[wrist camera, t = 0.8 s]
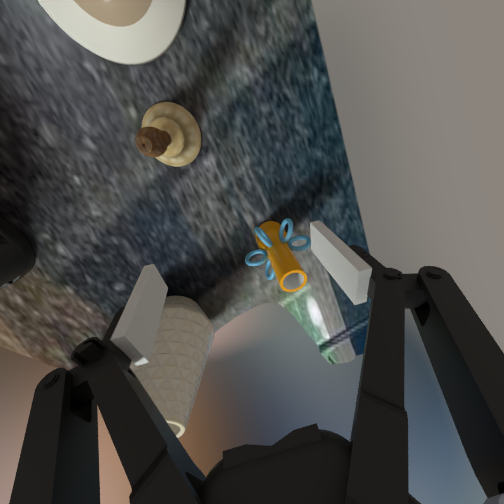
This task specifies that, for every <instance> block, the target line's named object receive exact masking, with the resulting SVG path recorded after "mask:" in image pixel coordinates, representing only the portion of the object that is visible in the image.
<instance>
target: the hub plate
mask: <svg viewBox="0 0 504 504" xmlns="http://www.w3.org/2000/svg"><path fill="white" fill-rule="evenodd" d="M38 2H39V3H40V4H41V6H42V7H43V8H44V9H45V11H46V12H47V13H48V14H49V16H50V17H51V18H52V19H53V20H54V21H55V22H56V23H57V24H58V25H59V26H60V28H61V29H63V30H64V31H65V32H66V33H67V34H68V35H69V36H70V37H71V38H73V39H74V40H75V41H77V42H78V43H79V44H81V45H82V46H83V47H85V48H87V49H88V50H90V51H92V52H93V53H95V54H97V55H98V56H100V57H102V58H104V59H107V60H109V61H112V62H115V63H118V64H123V65H130V66H138V65H144V64H148V63H150V62H153V61H155V60H157V59H158V58H160V57H161V56H163V55H164V54H165V53H166V52H167V51H168V50H169V49H170V47H171V46H172V45H173V43H174V42H175V40H176V38H177V37H178V34H179V32H180V29H181V27H182V23H183V20H184V16H185V10H186V2H187V0H38Z"/></svg>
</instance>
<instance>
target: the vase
mask: <svg viewBox="0 0 504 504" xmlns="http://www.w3.org/2000/svg"><path fill="white" fill-rule="evenodd" d="M213 338H214V329H213V325H212V323H211V322H210V320H209V319H208V317H207V316H206V315H205V313H204V312H203V311H202V309H201V308H200V307H199V305H198V304H197V303H196V302H195V301H194V300H192V299H190V298H188V297H184V296H168V297H166V299H165V303H164V306H163V310H162V314H161V318H160V322H159V326H158V330H157V334H156V338H155V342H154V345H153V349H152V353H151V357H150V361H149V363H145V364H142V365H138V366H136V365H135V364H134V363H133V362H132V361H131V364H130V368H131V369H132V370H133V372H134V373H135V375H136V376H137V378H138V379H139V381H140V382H141V384H142V385H143V387H144V389H145V390H146V392H147V393H148V395H149V396H150V398H151V399H152V401H153V402H154V404H155V405H156V407H157V408H158V410H159V411H160V413H161V414H162V416H163V417H164V419H165V420H166V422H167V423H168V425H169V426H170V428H171V429H172V431H173V432H174V434H175V435H176V437H177V438H178V437H180V436H181V435H182V434H183V433H184V432H185V429H186V426H187V423H188V419H189V416H190V413H191V410H192V406H193V403H194V400H195V397H196V393H197V390H198V387H199V384H200V380H201V377H202V374H203V371H204V367H205V364H206V361H207V358H208V355H209V351H210V348H211V345H212V341H213Z"/></svg>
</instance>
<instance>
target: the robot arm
mask: <svg viewBox="0 0 504 504" xmlns="http://www.w3.org/2000/svg"><path fill="white" fill-rule="evenodd" d="M310 231H311V250H312V251H313V253H314V254H315V255H316V256H317V258H318V259H319V260H320V262H321V263H322V264H323V265H324V267H325V268H326V269H327V270H328V272H329V273H330V274H331V275H332V277H333V278H334V279H335V280H336V282H337V283H338V284H339V286H340V287H341V288H342V289H343V291H344V292H345V293H346V294H347V296H348V297H349V298H350V299H351V301H352V302H353V303H354V305H356V304H360V303H364V302H366V301H367V295H368V296H369V297H370V298H371V299H372V302H371V307H370V315H369V322H368V328H367V335H366V341H365V348H364V355H363V361H362V368H361V375H360V381H359V388H358V395H357V401H356V408H355V414H354V420H353V426H352V432H351V439H350V442H349V441H348V440H347V439H345V438H344V437H342V436H340V435H338V434H336V433H333V432H331V431H327V430H320V429H318V426H317V424H313V425H310V426H306V427H303V428H299V429H296V430H293V431H292V432H291V433H289V434H288V435H286V436H285V437H284V438H282V439H281V440H279V441H278V442H277V443H275V444H274V445H272V446H262V445H248V444H246V445H242V446H239V447H236V448H232V449H229V450H226V451H223V459H222V460H221V461H219V462H218V463H217V464H216V465H215V467H213V469H212V470H211V471H210V472H209V474H208V475H207V477H205V476H204V474H203V473H202V472H201V470H200V469H199V468H198V467H197V466H196V465H195V464H194V462H193V461H192V460H191V458H190V456H189V455H188V453H187V452H186V450H185V449H184V447H183V446H182V445H181V443H180V441H179V440H178V438H177V437H176V435H175V434H174V432H173V431H172V429H171V428H170V426H169V425H168V423H167V422H166V420H165V419H164V417H163V416H162V414H161V413H160V411H159V410H158V408H157V407H156V405H155V404H154V402H153V401H152V399H151V398H150V396H149V395H148V393H147V392H146V390H145V389H144V387H143V385H142V384H141V382H140V381H139V379H138V378H137V376H136V375H135V373H134V372H133V370H132V369H131V368H130V364H131V361H132V362H133V363H134V364H135V365H136V366H138V365H142V364H145V363H149V361H150V357H151V353H152V349H153V345H154V342H155V338H156V334H157V330H158V326H159V322H160V318H161V314H162V310H163V306H164V303H165V299H166V295H167V291H168V287H167V285H166V284H165V282H164V280H163V279H162V277H161V275H160V274H159V272H158V270H157V269H156V267H155V265H154V264H151V265H147V266H144V268H143V270H142V272H141V274H140V276H139V279H138V281H137V283H136V285H135V287H134V289H133V292H132V294H131V296H130V298H129V300H128V302H127V305H126V306H125V307H122V308H120V310H119V311H118V312H117V313H116V314H115V316H114V318H113V320H112V322H111V324H110V326H109V328H108V330H107V332H106V334H105V336H104V338H103V340H102V341H101V340H100V339H98V338H97V337H92V338H89V339H87V340H85V341H83V342H82V343H81V344H79V345H78V346H77V347H76V349H75V350H74V351H73V353H72V355H71V359H72V360H73V361H74V362H76V363H77V364H78V365H79V366H77V367H75V368H73V369H71V370H69V371H67V370H66V369H64V368H57V369H55V370H53V371H52V372H50V373H49V374H47V375H46V376H45V377H44V378H43V379H42V380H41V381H40V382H39V384H38V385H37V387H36V389H35V393H34V398H33V402H32V406H31V410H30V415H29V419H28V424H27V428H26V433H25V437H24V441H23V446H22V450H21V455H20V459H19V463H18V468H17V472H16V477H15V481H14V485H13V490H12V494H11V499H10V503H9V504H100V484H99V483H100V482H99V453H98V452H99V450H98V420H97V419H98V418H97V405H98V407H99V410H100V412H101V414H102V417H103V419H104V422H105V424H106V426H107V429H108V431H109V434H110V436H111V439H112V441H113V443H114V446H115V448H116V451H117V453H118V456H119V458H120V460H121V463H122V465H123V467H124V470H125V473H126V475H127V477H128V479H129V482H130V485H131V488H132V492H131V494H130V496H129V499H130V504H421V503H420V502H418V501H417V500H416V499H415V498H414V497H412V495H410V494H409V493H408V417H407V412H406V411H405V408H404V324H405V323H404V322H405V321H404V319H405V317H404V316H405V315H404V314H405V308H410V310H411V312H412V315H413V318H414V320H415V323H416V325H417V328H418V330H419V333H420V336H421V338H422V341H423V343H424V346H425V349H426V351H427V354H428V356H429V359H430V361H431V364H432V367H433V369H434V372H435V374H436V377H437V380H438V382H439V385H440V387H441V390H442V392H443V395H444V398H445V400H446V403H447V405H448V408H449V411H450V413H451V415H452V418H453V421H454V423H455V426H456V428H457V431H458V434H459V436H460V439H461V442H462V444H463V446H464V449H465V452H466V455H467V457H468V459H469V461H470V463H471V466H472V468H473V470H474V473H475V475H476V477H477V479H478V481H479V483H480V484H481V486H482V488H483V490H484V492H485V494H486V496H487V498H488V499H486V501H485V502H484V504H504V354H503V352H502V350H501V349H500V347H499V346H498V344H497V343H496V342H495V340H494V339H493V337H492V336H491V334H490V333H489V331H488V330H487V328H486V327H485V325H484V324H483V322H482V321H481V319H480V318H479V317H478V315H477V314H476V312H475V311H474V309H473V308H472V306H471V305H470V303H469V302H468V300H467V299H466V297H465V296H464V295H463V293H462V292H461V290H460V289H459V287H458V286H457V284H456V283H455V281H454V280H453V278H452V277H451V275H450V274H449V273H447V271H445V270H443V269H441V268H438V267H434V266H424V267H422V268H420V270H419V272H418V274H402V273H401V272H400V271H398V270H396V269H393V268H386V267H384V266H383V265H382V264H381V263H379V262H378V261H377V260H376V259H375V258H373V257H372V256H371V255H370V254H369V253H367V252H366V251H365V250H364V249H363V248H361V247H359V246H357V245H351V246H347V245H346V244H345V243H344V242H343V241H342V240H340V239H339V238H338V237H337V236H336V235H335V234H334V233H333V232H332V231H330V230H329V229H328V228H327V227H326V226H325V225H324V224H323V223H322V222H320V221H319V220H318V221H314V222H311V223H310ZM34 261H35V257H34V252H33V249H32V247H31V245H30V243H29V242H28V240H27V239H26V238H25V237H24V235H23V234H22V233H21V232H20V231H19V230H18V229H16V228H15V227H14V226H13V225H11V224H10V223H9V222H7V221H6V220H4V219H2V218H1V217H0V288H3V287H6V286H9V285H11V284H13V283H15V282H17V281H18V280H20V279H21V278H22V277H23V276H25V275H26V274H27V273H28V272H29V271H30V270H31V269H32V267H33V265H34Z"/></svg>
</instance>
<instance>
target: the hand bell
mask: <svg viewBox="0 0 504 504" xmlns="http://www.w3.org/2000/svg"><path fill="white" fill-rule="evenodd" d="M135 141H136V146H137V148H138V150H139V151H141V152H142V153H143V154H144V155H146V156H149V157H155V158H157V159H158V160H159V161H161V162H162V163H164V164H167V165H170V166H176V167H178V166H184V165H187V164H189V163H191V162H192V161H193V160H194V159H195V158H196V157H197V155H198V153H199V151H200V148H201V132H200V129H199V126H198V124H197V122H196V120H195V118H194V117H193V116H192V115H191V114H190V112H189V111H188V110H186V109H185V108H184V107H182V106H180V105H178V104H176V103H172V102H160V103H157V104H155V105H153V106H151V107H150V108H149V109H148V110H147V112H146V113H145V115H144V117H143V121H142V128H141V129H140V130H139V131H138V132H137V134H136V138H135Z"/></svg>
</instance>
